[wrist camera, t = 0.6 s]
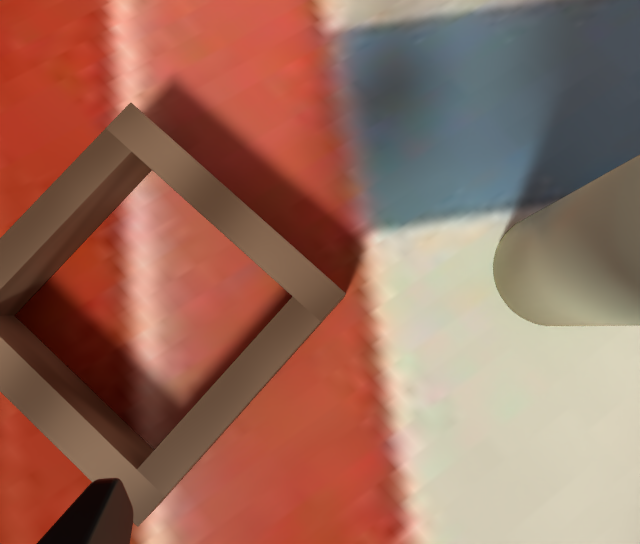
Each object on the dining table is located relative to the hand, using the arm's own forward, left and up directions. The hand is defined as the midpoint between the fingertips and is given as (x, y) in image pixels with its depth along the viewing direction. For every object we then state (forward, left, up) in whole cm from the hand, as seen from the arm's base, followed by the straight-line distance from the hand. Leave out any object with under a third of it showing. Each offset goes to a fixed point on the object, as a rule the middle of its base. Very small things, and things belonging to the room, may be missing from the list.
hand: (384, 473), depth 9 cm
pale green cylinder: (-3, -10, -14) cm, 17 cm away
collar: (+9, +3, -14) cm, 17 cm away
